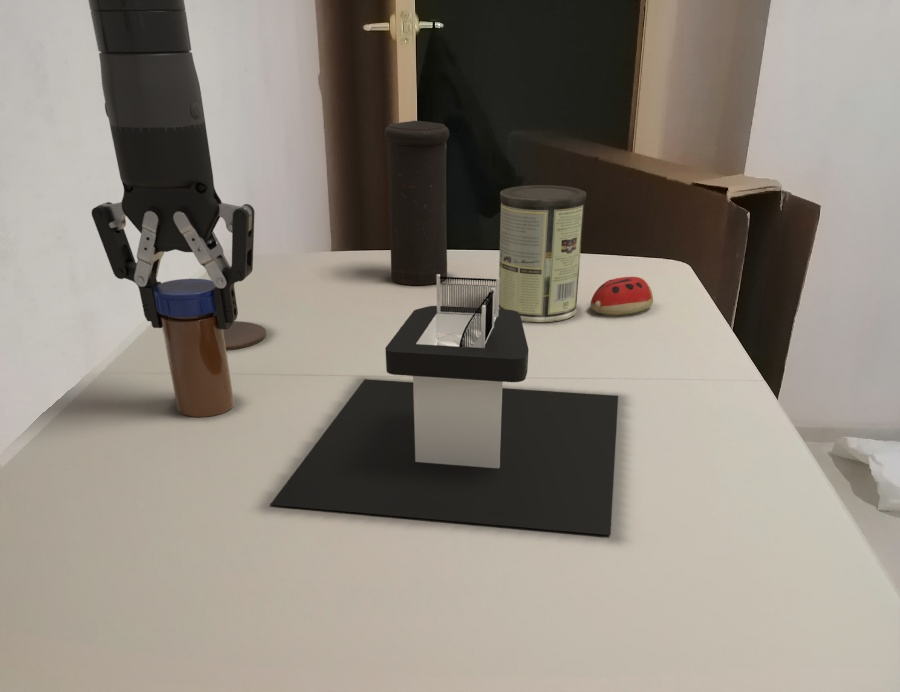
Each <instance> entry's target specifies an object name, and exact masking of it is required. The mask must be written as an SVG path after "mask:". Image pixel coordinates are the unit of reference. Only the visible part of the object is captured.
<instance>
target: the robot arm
mask: <svg viewBox="0 0 900 692" xmlns="http://www.w3.org/2000/svg"><path fill="white" fill-rule="evenodd" d="M88 6H89V11H90V17H91V21H92V27H93V32H94V35H95V41H96V46H97V51H98V52H99V53H98V56H99V62H100V64H99V65H100V77H101V86H102V87H101V88H102V93H103V98H104V110H105V114H106V117H107V118H108V122H109V128H110V132H111V138H112V142H113V148H114V153H115V157H116V158H115V159H116V162H117V163H116V164H117V169H118V172H119V178H120V181H121V184H122V186H123V195H122V198H121V201H120V202H114V203H112V202H110V201H107V202H104V203H101V204H99V205H97V206H95V207H93V208H92V209H91V217H92V219H93V223H94V225H95V228H96V230H97V233H98V235H99V236H98V237H99V239H100V241H101V243H102V246H103V249H104V252H105V254H106V257H107V260H108V262H109V265H110V268H111V270H112V273H113V275H114V277H115V278H117V279H118V280H123V279H126V280H128V281H131V282H133V283H135V284H136V286H137V287H138V291H139V295H140V300H141V305H142V310H143V316H144V317H145V319H146V321H147V322H151V327H152V328H153V329H162V325H161V320H160V313H158V312H157V309H156V304H155V298H154V293H153V288H154V287H155V286H156V285H158V284H160V283H162V282H161V281H158V280H157V279H158V278H157V277H158V274H159V269H160V266H161V261H162V258H163V256H164V254H165V253H168V252H171V251H175V250H176V251H180V252H182V253H193V255H194V257H195V258H196V260H197V261H198V263H199V264H200V266H202V267H203V268H204V269H205V271H206V273H207V274H208V276H209V279H210V280H211V281H212V282H213V283H214V285H215V286H216V287H215V288H213V295H214V301H215V307H216V314H217V320H218V326H219V329H223V330H228V329H229V328H230V327H231V326H232V324H233V322H234V321H236V320H237V319H238V314H239V312H238V304H237V297H236V290H235V289H236V288H235V283H238V282H242V281H244V280H245V279H246V278H247V277H248V276H250V275H251V274H252V272H253V269H254V241H255V239H254V238H255V208H254V207H253V206H252V205H251V204H249V203H245V204H243V205H241V206H240V205H235V204H230V203H226V202H222V199H221V198H220V197H219V195H218V192H217V191H216V188H215V184H214V183H215V182H214V172H213V166H212V160H211V159H212V158H211V151H210V146H209V145H210V144H209V139H208V132H207V125H206V118H205V110H204V105H203V97H202V90H201V86H200V81H199V76H198V73H197V69H196V66H195V65H196V64H195V62H194V57H193V53H192V52H191V51H192V44H191V38H190V31H189V23H188V17H187V11H186V5H185V0H88ZM221 218H222V219H223V221H224V223H225V227H226V229H227V231H228V232H229V233H231V265H230V263H229V262H228V260H227V258H226V256H225V254H224V249H223V246H222V245H221V243H220V240H218V237H217V235H216V234H215V232H214V229H215V228H216V226H217V224H218V222H219V220H220V219H221ZM126 219H128V220H129V221H130V222H131V224H132V225H133V226H134V227H135V229H136V230H137V231H138V232H139V234H140V238H139V242H138V247H137V252H136V259H137V261H136V259H135V256H134V254H133V251H132V248H131V246H130V242H129V239H128V237H127V234H126V231H125V229H124V228H125V227H126V226H127V221H126Z"/></svg>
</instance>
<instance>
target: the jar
mask: <svg viewBox="0 0 900 692" xmlns="http://www.w3.org/2000/svg"><path fill="white" fill-rule="evenodd" d="M160 320H161V325H162V328H161V330H162V334H163V340H164V345H165V346H164V347H165V350H166V356H167V361H168V367H169V372H170V376H171V382H172V387H173V392H174V397H175V403H176V408H177V411H178V413H180V414H181V415H184V416H187V417H192V418H194V417H195V418H206V417H213V416H214V417H215V416H218V415H221V414H224V413H227V412H228V411H230V410H231V409H233V408H234V407H235V399H234V392H233V386H232V379H231V373H230V367H229V360H228V353H227V350H226V346H225V339H224V332H223V329H219V326H218V320H217V314H216V311H215V312H212V313H209V314H205V315H200V316H193V317H171V316H166V315H162V314H160Z"/></svg>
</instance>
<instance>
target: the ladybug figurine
mask: <svg viewBox="0 0 900 692" xmlns="http://www.w3.org/2000/svg"><path fill="white" fill-rule="evenodd" d="M653 302H654V296H653V291H652V289H651V286H650V285H649V284H648V282H647V281H646V280H645V279H643V278H642V277H639V276H624V277H623V276H622V277H616V278H612V279H608V280H606V281H604V283H603V284H600V286H599V287H598V288H597V289H596V291H594V293H593V295H592V297H591V300H590V308H591V309H592V310H593V311H594V312H596V313H598V314H601V315H604V316H625V315H631V314H637V313H639V312H642V311H644V310H645V311H646V310H647V309H649V308H650V307H651V306H652V305H653Z"/></svg>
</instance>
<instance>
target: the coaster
mask: <svg viewBox="0 0 900 692" xmlns="http://www.w3.org/2000/svg"><path fill="white" fill-rule="evenodd" d="M223 332H224V339H225V346H226V351H232V350H237V349H238V350H239V349H243V348H248V347H250V346H253V345H256V344H259V343H260V342H262V341H264V339H266V337H267V330H266V328H265V327H264V326H262V325H260V324H257V323H253V322H249V321H238V320H237V321H236V320H235V321H234V322H233V324H232V326H231V327H230V328H229V329H228V330H223Z"/></svg>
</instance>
